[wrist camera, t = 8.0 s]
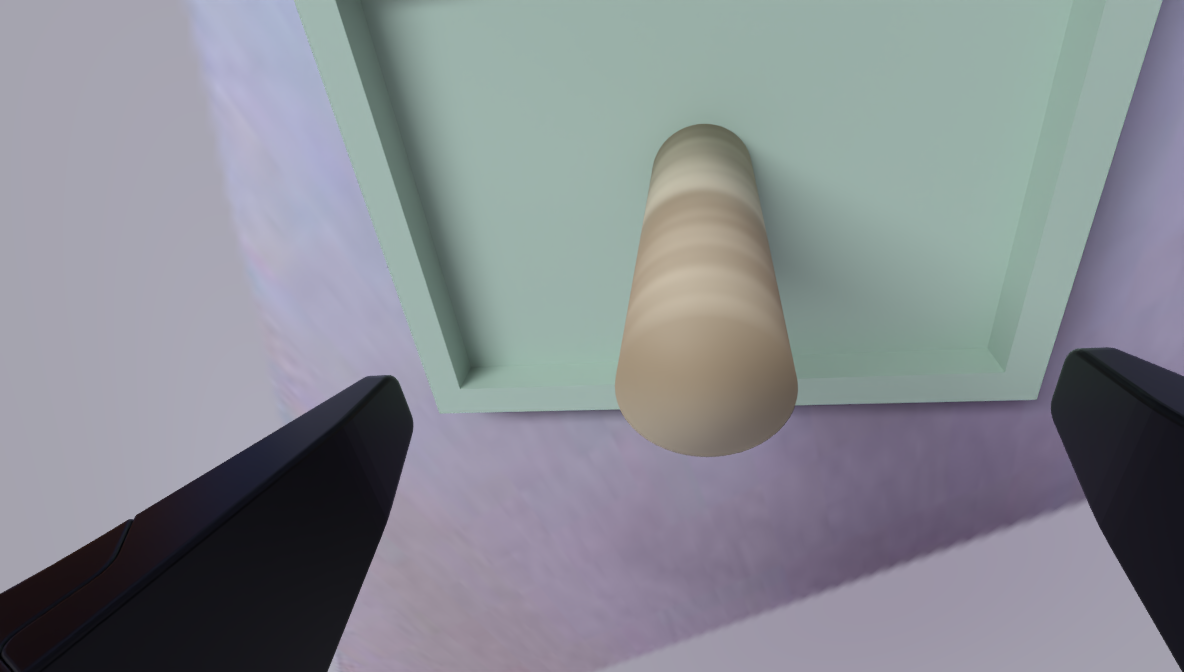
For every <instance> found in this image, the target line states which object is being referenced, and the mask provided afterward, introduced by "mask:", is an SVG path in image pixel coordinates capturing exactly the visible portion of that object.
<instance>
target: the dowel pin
mask: <svg viewBox="0 0 1184 672" xmlns="http://www.w3.org/2000/svg"><path fill="white" fill-rule="evenodd" d="M615 395H616V399H617V403H618V405H619V408H620V410H621V412H622V414H623V416H624V417H625V419H626V420H627V422H628V423H629V424H630V425H631V426H632V427H633V428H634V429H635V430H636V431H637V432H638V433H639V434H640V435H642V436H643V437H644V438H646V439H647V440H649V441H650V442H652V443H654V444H655V445H658V446H660V447H662V448H664V449H667V450H670V451H673V452H676V453H680V454H684V455H690V456H700V457H716V456H725V455H731V454H735V453H739V452H743V451H745V450H748V449H751V448H753V447H755V446H757V445H760V444H761V443H763V442H765V441H766V440H768V439H769V438H771V437H772V436H773V435H774V434H776V433H777V432H778V431H779V430H780V429H781V428H782V427H783V426H784V424H785V423H786V422H787V420H788V419H789V417H790V416H791V414H792V412H793V410H794V407H795V404H796V401H797V395H798V381H797V376H796V371H795V366H794V361H793V357H792V352H791V347H790V342H789V338H788V333H787V328H786V323H785V319H784V314H783V309H782V304H781V300H780V295H779V290H778V285H777V281H776V276H775V271H774V266H773V261H772V257H771V252H770V247H769V242H768V238H767V233H766V228H765V223H764V219H763V214H762V209H761V204H760V200H759V195H758V190H757V185H756V181H755V176H754V171H753V166H752V162H751V157H750V154H749V151H748V149H747V147H746V146H745V144H744V143H743V141H742V140H741V139H740V138H739V137H738V136H737V135H736V134H734V133H733V132H732V131H730V130H728V129H726V128H724V127H721V126H718V125H713V124H696V125H691V126H688V127H685V128H683V129H681V130H679V131H677V132H676V133H674V134H673V135H671V136H670V137H669V138H668V139H667V140H666V141H665V142H664V143H663V145H662V146H661V147H660V149H659V151H658V153H657V155H656V157H655V160H654V164H653V168H652V174H651V180H650V185H649V191H648V197H647V202H646V208H645V214H644V219H643V225H642V231H641V236H640V242H639V248H638V253H637V259H636V265H635V270H634V276H633V282H632V287H631V293H630V299H629V304H628V310H627V315H626V321H625V327H624V332H623V338H622V344H621V349H620V355H619V361H618V366H617V372H616V378H615Z"/></svg>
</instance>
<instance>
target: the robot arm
mask: <svg viewBox="0 0 1184 672" xmlns="http://www.w3.org/2000/svg"><path fill="white" fill-rule="evenodd" d="M1051 414H1052V418H1053V421H1054V424H1055V426H1056V428H1057V431H1058V433H1059V435H1060V438H1061V440H1062V442H1063V445H1064V447H1065V449H1066V452H1067V454H1068V456H1069V459H1070V461H1071V463H1072V466H1073V468H1074V470H1075V473H1076V475H1077V477H1078V480H1079V482H1080V484H1081V487H1082V489H1083V491H1084V494H1085V496H1086V498H1087V501H1088V503H1089V505H1090V508H1091V510H1092V512H1093V514H1094V516H1095V518H1096V521H1097V522H1098V525H1099V527H1100V529H1101V530H1102V532H1103V534H1104V536H1105V538H1106V540H1107V542H1108V543H1109V545H1110V547H1111V549H1112V550H1113V552H1114V554H1115V556H1116V557H1117V559H1118V561H1119V563H1120V564H1121V566H1122V568H1123V570H1124V571H1125V573H1126V575H1127V577H1128V578H1129V580H1130V582H1131V584H1132V585H1133V587H1134V589H1135V591H1136V592H1137V594H1138V596H1139V597H1140V599H1141V601H1142V603H1143V604H1144V606H1145V608H1146V610H1147V611H1148V613H1149V615H1150V617H1151V618H1152V620H1153V622H1154V623H1155V625H1156V627H1157V629H1158V630H1159V632H1160V634H1161V636H1162V637H1163V639H1164V641H1165V643H1166V644H1167V646H1168V648H1169V649H1170V651H1171V653H1172V655H1173V657H1174V658H1175V660H1176V662H1177V663H1178V665H1179V667H1180V669H1181V670H1182V672H1184V376H1182V375H1179V374H1177V373H1175V372H1172V371H1170V370H1167V369H1165V368H1162V367H1160V366H1157V365H1155V364H1152V363H1150V362H1148V361H1145V360H1143V359H1140V358H1138V357H1135V356H1133V355H1130V354H1128V353H1125V352H1123V351H1120V350H1118V349H1115V348H1109V347H1105V348H1081V349H1075V350H1073V351H1072V352H1070V353H1069V354H1068V356H1067V357H1066V359H1065V362H1064V365H1063V368H1062V371H1061V374H1060V377H1059V380H1058V383H1057V386H1056V389H1055V392H1054V395H1053V398H1052V402H1051ZM412 433H413V418H412V415H411V412H410V410H409V407H408V404H407V402H406V399H405V397H404V394H403V392H402V389H401V386H400V384H399V382H398V380H397V379H396V378H395V377H393V376H391V375H381V376H368V377H365V378H363V379H361V380H360V381H358V382H356V383H355V384H353V385H351V386H350V387H348V388H346V389H345V390H343V391H341V392H340V393H338V394H336V395H335V396H333V397H331V398H330V399H328V400H326V401H325V402H323V403H321V404H320V405H318V406H316V407H315V408H313V409H311V410H310V411H308V412H307V413H305V414H303V415H302V416H300V417H298V418H297V419H295V420H293V421H292V422H290V423H288V424H287V425H285V426H283V427H282V428H280V429H278V430H277V431H275V432H274V433H272V434H270V435H268V436H267V437H265V438H263V439H262V440H260V441H259V442H257V443H255V444H253V445H252V446H250V447H249V448H247V449H245V450H244V451H242V452H240V453H239V454H237V455H235V456H234V457H232V458H230V459H229V460H227V461H226V462H224V463H222V464H220V465H219V466H217V467H215V468H214V469H212V470H210V471H209V472H207V473H205V474H204V475H202V476H200V477H199V478H197V479H195V480H194V481H192V482H190V483H189V484H187V485H185V486H184V487H182V488H180V489H179V490H177V491H175V492H174V493H172V494H170V495H169V496H167V497H165V498H164V499H162V500H160V501H159V502H157V503H155V504H154V505H152V506H151V507H149V508H148V509H146V510H144V511H142V512H141V513H139V514H137V515H136V516H135V518H134V520H133V519H129V520H127V521H125V522H124V523H122V524H120V525H119V526H117V527H115V528H114V529H112V530H110V531H109V532H107V533H106V534H104V535H102V536H101V537H99V538H97V539H95V540H94V541H92V542H90V543H89V544H87V545H85V546H84V547H82V548H80V549H78V550H77V551H75V552H73V553H72V554H70V555H68V556H66V557H65V558H63V559H61V560H60V561H58V562H56V563H55V564H53V565H51V566H49V567H47V568H46V569H44V570H42V571H40V572H38V573H37V574H35V575H33V576H31V577H29V578H28V579H26V580H24V581H22V582H21V583H19V584H17V585H15V586H13V587H12V588H10V589H8V590H6V591H4V592H3V593H1V594H0V672H328V669H329V667H330V664H331V662H332V659H333V657H334V654H335V652H336V649H337V647H338V644H339V642H340V639H341V637H342V634H343V632H344V629H345V627H346V624H347V622H348V619H349V617H350V614H351V612H352V609H353V607H354V604H355V602H356V599H357V597H358V594H359V592H360V589H361V587H362V584H363V582H364V579H365V577H366V574H367V572H368V569H369V567H370V564H371V562H372V559H373V557H374V554H375V552H376V549H377V547H378V544H379V542H380V539H381V537H382V534H383V531H384V529H385V526H386V523H387V521H388V517H389V514H390V511H391V508H392V505H393V501H394V498H395V494H396V490H397V487H398V483H399V480H400V476H401V472H402V469H403V465H404V462H405V458H406V455H407V451H408V447H409V444H410V440H411V437H412Z"/></svg>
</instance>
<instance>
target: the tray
mask: <svg viewBox="0 0 1184 672" xmlns="http://www.w3.org/2000/svg"><path fill="white" fill-rule="evenodd" d="M294 2H295V5H296V8H297V10H298V13H299V16H300V19H301V22H302V25H303V27H304V30H305V33H306V36H307V39H308V42H309V44H310V47H311V50H312V53H313V56H314V59H315V61H316V64H317V67H318V70H319V73H320V76H321V78H322V81H323V84H324V87H325V90H326V93H327V95H328V98H329V101H330V104H331V107H332V110H333V112H334V115H335V118H336V121H337V124H338V127H339V129H340V132H341V135H342V138H343V141H344V144H345V146H346V149H347V152H348V155H349V158H350V161H351V163H352V166H353V169H354V172H355V175H356V178H357V180H358V183H359V186H360V189H361V192H362V195H363V197H364V200H365V203H366V206H367V209H368V212H369V215H370V217H371V220H372V223H373V226H374V229H375V232H376V234H377V237H378V240H379V243H380V246H381V249H382V251H383V254H384V257H385V260H386V263H387V266H388V268H389V271H390V274H391V277H392V280H393V283H394V285H395V288H396V291H397V294H398V297H399V300H400V302H401V305H402V308H403V311H404V314H405V317H406V319H407V322H408V325H409V328H410V331H411V334H412V336H413V339H414V342H415V345H416V348H417V351H418V353H419V356H420V359H421V362H422V365H423V368H424V370H425V373H426V376H427V379H428V382H429V385H430V387H431V390H432V393H433V396H434V399H435V402H436V404H437V407H438V410H439V413H480V412H524V411H568V410H612V409H620V408H619V405H618V403H617V399H616V395H615V378H616V372H617V366H618V361H619V355H620V349H621V344H622V338H623V332H624V327H625V321H626V315H627V310H628V304H629V299H630V293H631V287H632V282H633V276H634V270H635V265H636V259H637V253H638V248H639V242H640V236H641V231H642V225H643V219H644V214H645V208H646V202H647V197H648V191H649V185H650V180H651V174H652V168H653V164H654V160H655V157H656V155H657V153H658V151H659V149H660V147H661V146H662V145H663V143H664V142H665V141H666V140H667V139H668V138H669V137H670V136H671V135H673V134H674V133H676V132H677V131H679V130H681V129H683V128H685V127H688V126H691V125H696V124H713V125H718V126H721V127H724V128H726V129H728V130H730V131H732V132H733V133H734V134H736V135H737V136H738V137H739V138H740V139H741V140H742V141H743V143H744V144H745V146H746V147H747V149H748V151H749V154H750V157H751V162H752V166H753V171H754V176H755V181H756V185H757V190H758V195H759V200H760V204H761V209H762V214H763V219H764V223H765V228H766V233H767V238H768V242H769V247H770V252H771V257H772V261H773V266H774V271H775V276H776V281H777V285H778V290H779V295H780V300H781V304H782V309H783V314H784V319H785V323H786V328H787V333H788V338H789V342H790V347H791V352H792V357H793V361H794V366H795V371H796V376H797V381H798V395H797V401H796V404H795V405H831V404H875V403H919V402H963V401H1007V400H1037V397H1038V393H1039V390H1040V387H1041V384H1042V381H1043V378H1044V374H1045V371H1046V368H1047V365H1048V362H1049V359H1050V355H1051V352H1052V349H1053V346H1054V343H1055V340H1056V336H1057V333H1058V330H1059V327H1060V324H1061V320H1062V317H1063V314H1064V311H1065V308H1066V305H1067V301H1068V298H1069V295H1070V292H1071V289H1072V286H1073V282H1074V279H1075V276H1076V273H1077V270H1078V267H1079V263H1080V260H1081V257H1082V254H1083V251H1084V248H1085V244H1086V241H1087V238H1088V235H1089V232H1090V229H1091V225H1092V222H1093V219H1094V216H1095V213H1096V210H1097V206H1098V203H1099V200H1100V197H1101V194H1102V191H1103V187H1104V184H1105V181H1106V178H1107V175H1108V171H1109V168H1110V165H1111V162H1112V159H1113V156H1114V152H1115V149H1116V146H1117V143H1118V140H1119V137H1120V133H1121V130H1122V127H1123V124H1124V121H1125V118H1126V114H1127V111H1128V108H1129V105H1130V102H1131V99H1132V95H1133V92H1134V89H1135V86H1136V83H1137V80H1138V76H1139V73H1140V70H1141V67H1142V64H1143V61H1144V57H1145V54H1146V51H1147V48H1148V45H1149V42H1150V38H1151V35H1152V32H1153V29H1154V26H1155V22H1156V19H1157V16H1158V13H1159V10H1160V7H1161V3H1162V0H294Z"/></svg>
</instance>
